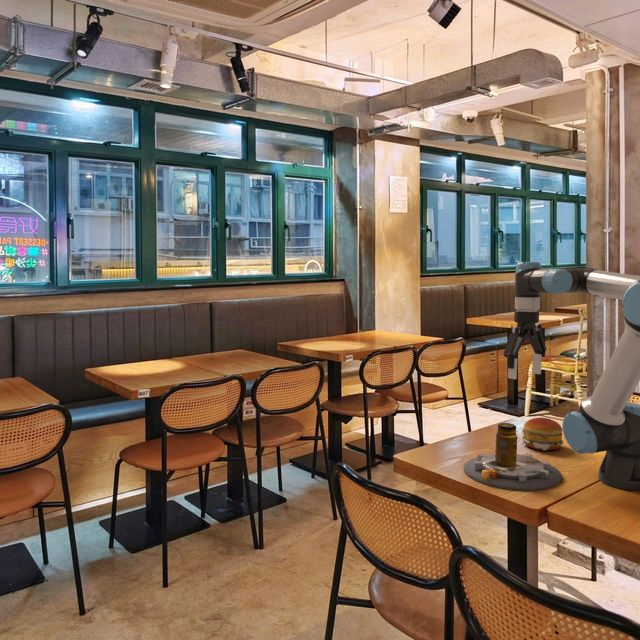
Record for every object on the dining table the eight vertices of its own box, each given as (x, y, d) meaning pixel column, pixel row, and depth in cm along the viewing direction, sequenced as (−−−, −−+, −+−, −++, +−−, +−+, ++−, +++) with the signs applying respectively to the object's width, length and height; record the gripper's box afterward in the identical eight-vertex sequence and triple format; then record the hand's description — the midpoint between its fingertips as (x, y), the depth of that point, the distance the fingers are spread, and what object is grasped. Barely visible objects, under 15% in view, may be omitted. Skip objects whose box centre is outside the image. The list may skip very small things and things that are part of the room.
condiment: (522, 465, 183) (524, 425, 182) (504, 471, 178) (505, 430, 177) (502, 458, 189) (503, 420, 188) (484, 464, 184) (485, 424, 183)
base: (579, 475, 184) (580, 464, 184) (525, 498, 167) (526, 485, 167) (500, 452, 206) (500, 442, 206) (444, 470, 189) (445, 459, 188)
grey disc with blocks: (524, 455, 200) (525, 430, 199) (566, 478, 178) (567, 451, 178) (461, 460, 195) (461, 435, 194) (497, 485, 173) (498, 457, 172)
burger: (560, 442, 218) (561, 415, 217) (565, 454, 205) (566, 425, 204) (520, 440, 221) (521, 412, 220) (523, 451, 208) (524, 422, 207)
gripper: (538, 307, 208) (536, 370, 210) (493, 311, 192) (491, 378, 195) (558, 309, 202) (556, 373, 204) (514, 313, 187) (511, 382, 189)
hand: (524, 376), depth 199 cm, fingers open, 13 cm apart
